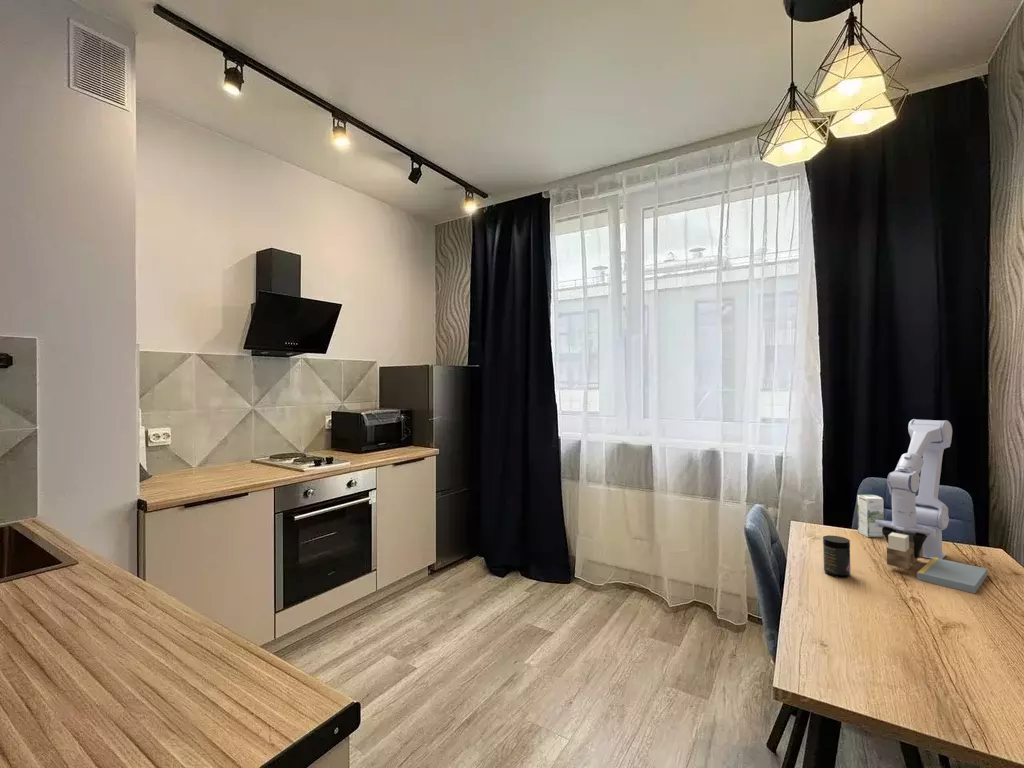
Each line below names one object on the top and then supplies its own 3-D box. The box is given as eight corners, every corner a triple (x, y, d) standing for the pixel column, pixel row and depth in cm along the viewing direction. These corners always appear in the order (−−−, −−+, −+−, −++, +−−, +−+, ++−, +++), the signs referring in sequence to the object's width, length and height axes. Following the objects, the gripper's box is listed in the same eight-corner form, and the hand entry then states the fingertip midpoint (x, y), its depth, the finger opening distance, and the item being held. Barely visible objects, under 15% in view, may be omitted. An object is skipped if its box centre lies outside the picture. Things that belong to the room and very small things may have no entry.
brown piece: (887, 564, 143) (886, 547, 143) (902, 551, 153) (902, 536, 153) (908, 569, 139) (907, 552, 139) (922, 555, 149) (922, 540, 149)
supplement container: (848, 580, 137) (847, 544, 137) (820, 574, 142) (819, 539, 142) (853, 573, 141) (852, 538, 141) (826, 567, 146) (825, 533, 146)
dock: (917, 579, 136) (916, 572, 136) (933, 563, 147) (933, 556, 147) (974, 593, 126) (974, 585, 126) (987, 575, 137) (987, 568, 137)
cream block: (888, 548, 143) (888, 535, 143) (892, 545, 145) (892, 532, 145) (905, 551, 140) (905, 538, 140) (909, 548, 142) (908, 535, 142)
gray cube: (900, 539, 150) (900, 526, 150) (904, 536, 152) (903, 524, 152) (916, 542, 147) (916, 529, 147) (920, 539, 149) (919, 526, 149)
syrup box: (873, 532, 177) (872, 494, 177) (884, 537, 171) (883, 497, 171) (857, 532, 178) (856, 494, 178) (867, 537, 172) (866, 497, 172)
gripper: (871, 508, 149) (872, 551, 149) (931, 518, 138) (932, 564, 138) (878, 504, 154) (879, 546, 154) (937, 513, 142) (938, 558, 142)
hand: (905, 554), depth 146 cm, fingers closed on brown piece, 5 cm apart
